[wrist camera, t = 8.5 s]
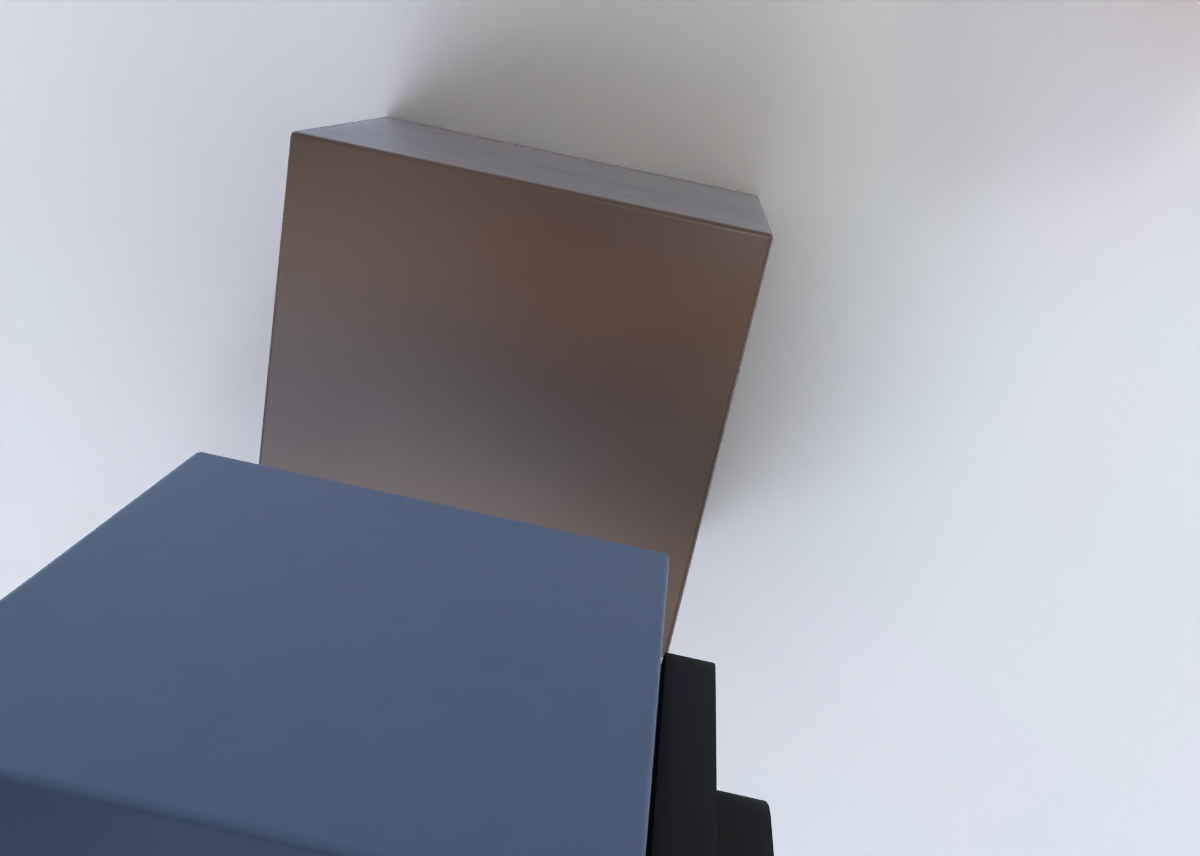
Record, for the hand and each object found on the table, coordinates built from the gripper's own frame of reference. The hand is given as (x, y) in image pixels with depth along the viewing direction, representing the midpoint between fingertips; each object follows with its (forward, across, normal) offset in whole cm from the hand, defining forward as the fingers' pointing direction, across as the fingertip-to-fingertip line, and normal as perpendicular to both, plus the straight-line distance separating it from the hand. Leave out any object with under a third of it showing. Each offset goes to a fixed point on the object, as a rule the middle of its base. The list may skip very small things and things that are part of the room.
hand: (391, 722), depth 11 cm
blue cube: (0, 0, 0) cm, 0 cm away
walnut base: (+16, +1, 0) cm, 16 cm away
